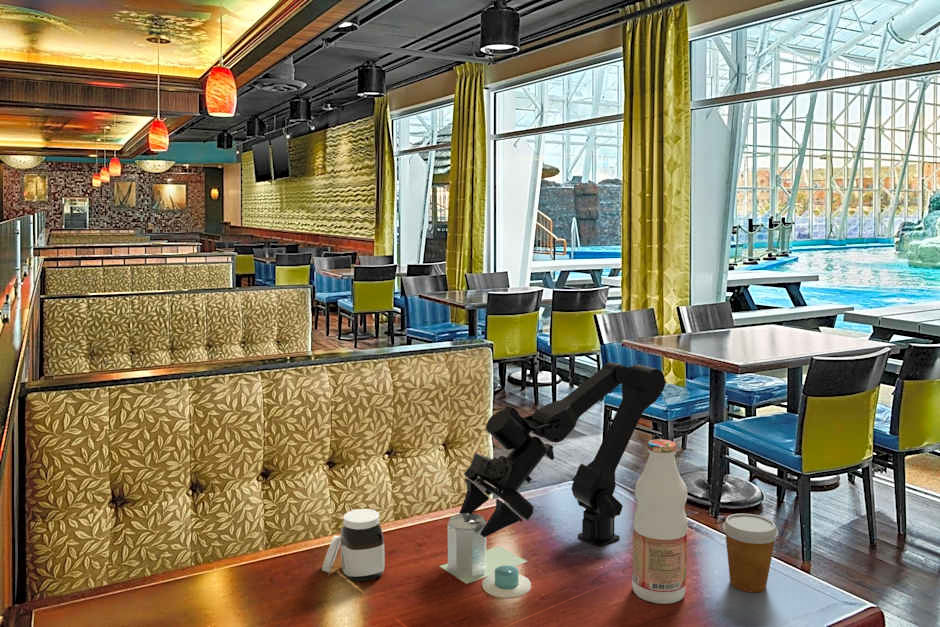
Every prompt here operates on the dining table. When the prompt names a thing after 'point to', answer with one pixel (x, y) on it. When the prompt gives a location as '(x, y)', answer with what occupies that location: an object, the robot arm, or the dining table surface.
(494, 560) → the sage placemat
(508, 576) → the teal puck on dish
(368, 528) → the spread jar
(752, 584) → the disposable coffee cup
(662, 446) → the fruit juice
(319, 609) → the dining table surface
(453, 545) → the grey metal canister
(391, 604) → the dining table surface
